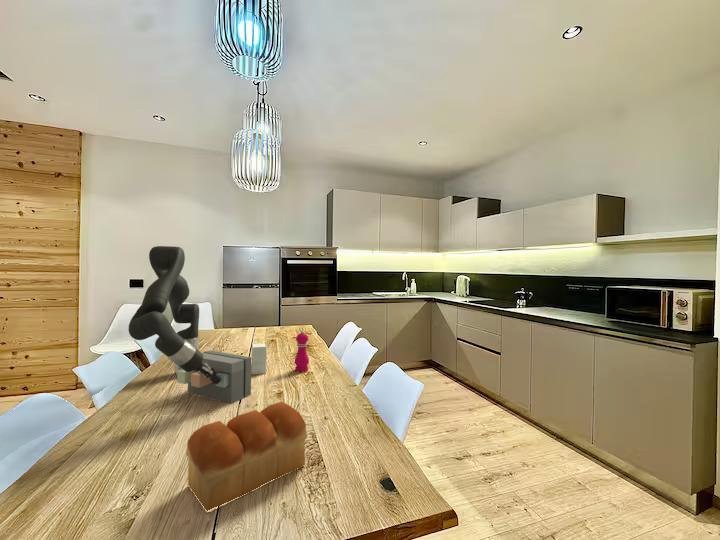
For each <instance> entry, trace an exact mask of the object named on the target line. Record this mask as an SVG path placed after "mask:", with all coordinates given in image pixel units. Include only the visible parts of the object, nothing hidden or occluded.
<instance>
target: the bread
mask: <svg viewBox="0 0 720 540" xmlns="http://www.w3.org/2000/svg"><path fill="white" fill-rule="evenodd" d="M307 438H308V432H307V426H306V421H305V420H304V418H303V416H302V414H301V413H300V412H299V411H297V409H295V408H294V407H293V406H291V405H289V404H288V403H285V402H284V401H279V402H276V403H273V404H269V405H267V406H266V407H265V408H263V409H262V410H260V411H258V410H256V409H254V410H252V411H247V412H245V413H242V414H241V413H240V414H238V415H236V416H234V417H233V418H231V419H229V420H228V421H227V423H226V424H224V423H223V422H222V421H221V420H218V421H214V422H211V423H209V424H204V425H203V426H201V427H199V428H197V429H196V430H195V431H193V433H192V434H191V435H190V437H189V438H188V440H187V446H186V452H185V453H186V454H185V455H186V457H187V458H188V461H187V462H188V464H187V465H188V466H187V480H188V481H187V486H188V485H189V486H190V488H191V489H192V491H193V492H194V493H195V495H196V496H197V498H198V499H199V501H200V502H201V503H202V505H203V506H204V508H205V509H206V510H207V511H208V510H210V509H212V508H214V507H217V506H220V505H222V504H224V503H226V502H229V501H231V500H233V499H235V498H237V497H240V496H242V495H244V494H246V493H248V492H250V491H252V490H254V489H256V488H258V487H260V486H261V485H263V484H265V483H267V482H269V481H271V480H273V479H276V478H278V477H280V476H282V475H284V474H286V473H289V472H291V471H293V470H295V469H297V468H299V467H301V466H303V465H305V464H306V462H305V461H306V455H305V454H306V439H307ZM303 467H304V466H303ZM301 468H302V467H301ZM299 469H300V468H299ZM297 470H298V469H297ZM295 471H296V470H295ZM293 472H294V471H293ZM291 473H292V472H291ZM289 474H290V473H289ZM190 488H189V489H190ZM192 491H191V492H192Z"/></svg>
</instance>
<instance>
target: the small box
mask: <svg viewBox="0 0 720 540" xmlns="http://www.w3.org/2000/svg"><path fill="white" fill-rule="evenodd" d="M251 346H252V348H251V376H252V375H263V374H267V345H266V342H265V343H252V345H251Z"/></svg>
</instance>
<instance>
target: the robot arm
mask: <svg viewBox="0 0 720 540" xmlns="http://www.w3.org/2000/svg"><path fill="white" fill-rule="evenodd" d="M148 259H149V263H150V266H151V268H152V270H153V271H154V273H155V275H156V276H157V279H156V280H155V281H153V282H152V283H151V284H150V285H149V286H148V287H147V290H146V291H145V294H144V297H143V299H142V302H141V304H140V306H139V307H138V309H137V310H136V311H135V313H134V314H133V316H132V317H131V319H130V321H129V324H128V333H129V335H130V337H131V338H132V339H133V340H136V341H143V340H146V339H148V338H151V337H154V336H155V335H156V336H158V337H157V338H156V340H155V341H154V345H155V348H156V349H157V351H160V353H162V354H163V355H165V356H166V357H167V358H168V359H169V360H170V361H171V362H172V363H173V364H174V374H175V373H176V374H175V376H177V371H178V370H182V369H183V370H184V371H186V372H190V371H194V372H196V373H198V374H199V375H201V376H203V377H206V378H207V379H209V380H211V381H212V382H213V383H215V384H218V383H219V382H220V381H221V379H220V378H219V377H218V376H216V374H217V373H216V371H215V370H214V368H210V367H209V366H208V364H207V363H206V362H202V361H203V354H202V353H203V352H202V351H200V350H199V322H200V320H199V319H200V306H199V304H197V303H184V302H186V300H187V299H188V298H189V296H190V287H189V285H188V281H187V280H186V279H185V277H183V276H182V275H181V273H182V271H183V268H184V266H185V261H186V257H185V251H184V249H183V248H182V247H180V246H172V245H171V246H170V245H169V246H166V245H164V246H163V245H160V246H159V245H157V246H152V248H151V249H150V250H149V253H148ZM168 304H169V307H170V310H171V315H172V319H173V321H174V322H175V323H177V324H190V326H188V327H187V328H185V329H181V330H179V331H177V332H176V331H175V329H174V327H173V325H172V324H171V322H170V321H169V320H168V318H167V317H166V316H165V314H163V313H164V312H165V310H166V309H167V306H168ZM201 352H202V353H201Z"/></svg>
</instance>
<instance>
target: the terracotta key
mask: <svg viewBox="0 0 720 540" xmlns="http://www.w3.org/2000/svg"><path fill="white" fill-rule="evenodd" d="M211 383H213V382H212V381H211V380H209V379H207V378H206V377H203V376H201V375H199V374H198V373H193V374H191V386H195V387H199V388H200V387H202V386H205V385H208V384H211Z"/></svg>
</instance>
